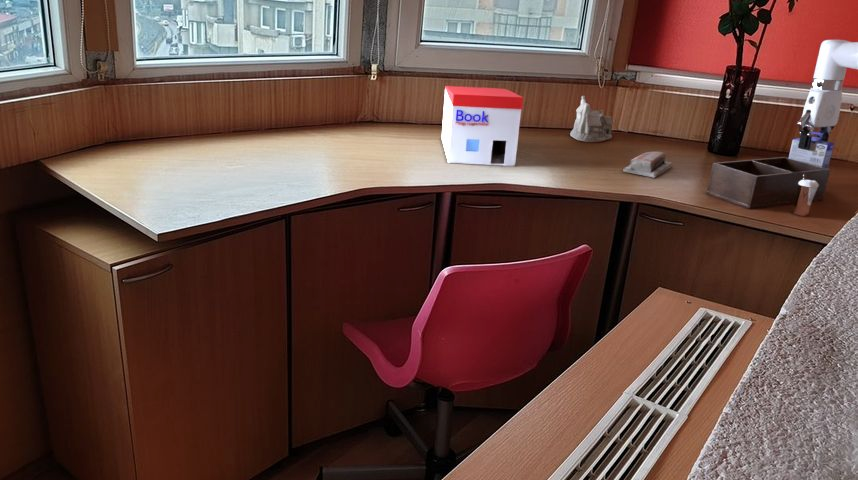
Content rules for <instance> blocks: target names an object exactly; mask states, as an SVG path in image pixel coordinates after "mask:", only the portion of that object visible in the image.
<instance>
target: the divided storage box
mask: <svg viewBox="0 0 858 480" xmlns="http://www.w3.org/2000/svg"><path fill="white" fill-rule="evenodd" d="M711 165H712V166H711V170H710V174H709V179H708V184H707V189H706V194H707V195H709V196H712V197H715V198H718V199H720V200H723V201H726V202H728V203H731V204H734V205H737V206H740V207H742V208H746V209H748V210H751V209H760V208H769V207H778V206H784V205H793V204H794V205H795V201H796V195H797V189H798V182H799V181H801V180H803V174H805V180H812V181H813V180H815V181H816V182H817V183H818V185H819V186H818V188H817V191H816V193H815V196H814V198H813V201H812V202H818V201H823V199H824V196H825V192H826V188H827V184H828V181H829V178H830V174H831V171H832V169H831V168H828V169H827V168H824V167H820V166H816V165H813V164H809V163H805V162H802V161H798V160H794V159H791V158H789V157H787V156H780V157H779V156H777V157H768V158H756V159H755V158H754V159H742V160H733V161H731V160H730V161H721V162H719V161H717V162H712V164H711Z"/></svg>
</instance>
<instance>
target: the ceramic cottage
mask: <svg viewBox="0 0 858 480" xmlns="http://www.w3.org/2000/svg"><path fill="white" fill-rule="evenodd" d="M586 100H587V99H586V96H585V95H581V99H580V105H579V106H578V107H577V108H576V110H575V112H576V118H575V120H574V124H573V129H572V130H571V131H570V133H569V136H570V137H572V138H573V139H575V140H577V141H581V142H585V143H597V142H604V141H607V140H612V139H613V134H611V132H612V130H613V118H612V115H605V114H604V110H603V109H600V110H593V109H592V108H591V106H590V104H589V103H587V102H586Z"/></svg>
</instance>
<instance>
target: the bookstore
mask: <svg viewBox="0 0 858 480" xmlns="http://www.w3.org/2000/svg"><path fill="white" fill-rule="evenodd" d="M523 103H524V97H523V96H522V95H519V94H517V93H516V92H513V91H512V90H509V89H507V88H499V87H478V86H458V85H457V86H456V85H454V86H452V85H445V87H444V100H443V114H442V126H441V127H442V128H441V141H442V145H443V149H444V152H445V156H446V159H447V163H448V164H466V165H485V166H486V165H487V166H505V167H507V166H509V167H515V166H516V160H517V151H518V142H519V134H520V125H521V116H522V110H523V105H524V104H523Z"/></svg>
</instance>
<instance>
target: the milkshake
mask: <svg viewBox="0 0 858 480" xmlns="http://www.w3.org/2000/svg"><path fill="white" fill-rule="evenodd" d="M818 186H819V185H818V183H817V182H816V181H815V180H813V181H812V180H805V174H803V180H801V181H799V182H798V189H797V195H796V201H795V203H794V207H793V211H792V213H793V214H794V215H796V216H801V217H806V216H808V214H809V211H810V209H811V206H812V204H813V202H814V201H813V198H814V196H815V193H816V191H817V188H818Z"/></svg>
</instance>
